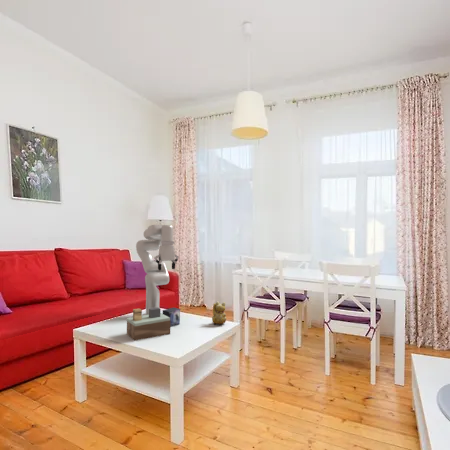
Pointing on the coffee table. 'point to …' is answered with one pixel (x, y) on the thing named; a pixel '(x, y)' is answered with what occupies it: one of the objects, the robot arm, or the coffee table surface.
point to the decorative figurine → (219, 313)
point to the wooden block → (137, 314)
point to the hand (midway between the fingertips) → (166, 269)
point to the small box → (173, 316)
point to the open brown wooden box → (148, 330)
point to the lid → (150, 318)
